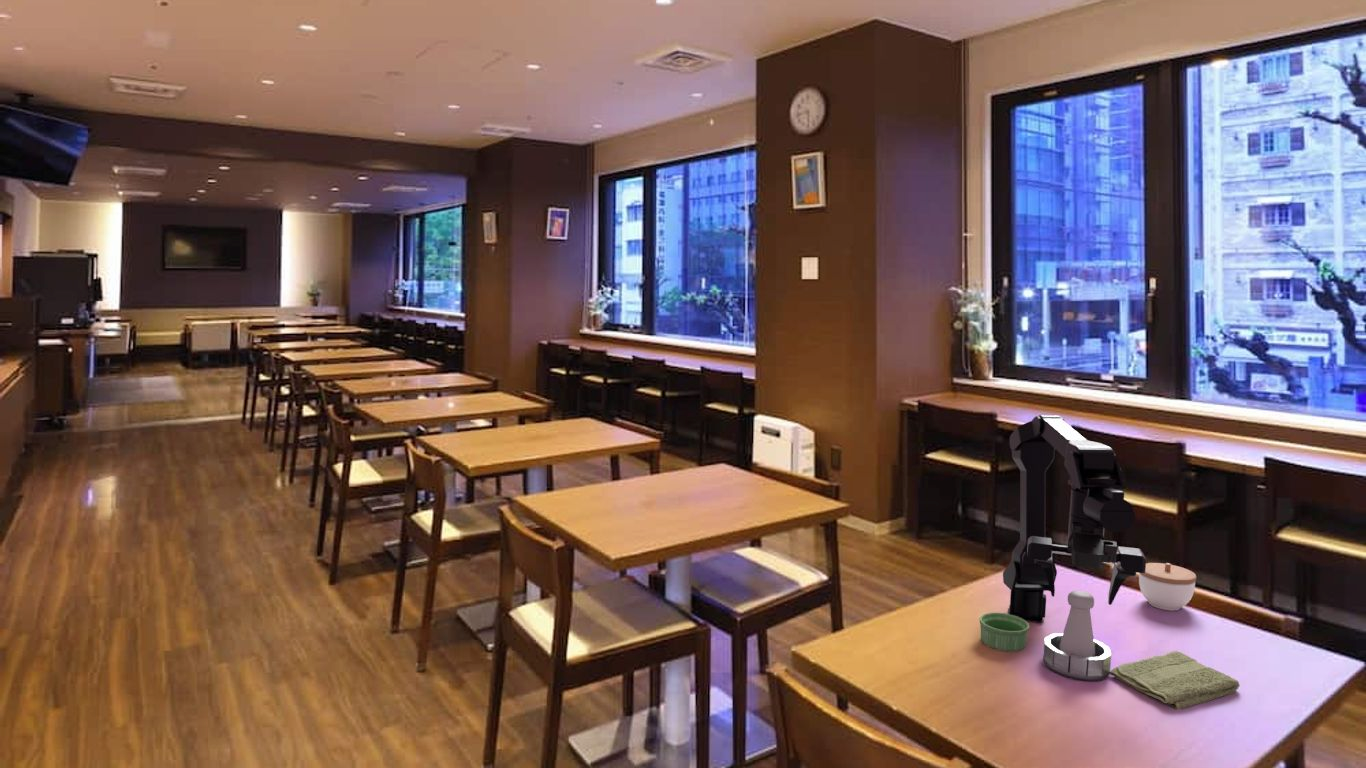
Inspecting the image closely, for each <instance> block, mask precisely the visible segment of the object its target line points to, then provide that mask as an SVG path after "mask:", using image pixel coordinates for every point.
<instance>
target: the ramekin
mask: <svg viewBox="0 0 1366 768" xmlns="http://www.w3.org/2000/svg"><path fill="white" fill-rule="evenodd" d="M979 624H980V640H981V642H982V643H983V644H984V645H986V646H987V647H989V648H991V647H992V648H991V649H994V648H995V649H994V650H997V649H998V650H997V651H1001V650H1002V651H1004V652H1018V651H1021V650H1023V649H1024V648H1025V646H1026V644H1027V643H1026V642H1027V638H1028V637H1027V636H1028V632H1029V629H1030V624H1029V622H1028V621H1026V620H1024V619H1022V618H1020V617H1017V616H1014V615H1010V614H1009V613H1005V612H987V613H984V614H981V615H980V616H979Z"/></svg>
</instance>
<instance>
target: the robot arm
mask: <svg viewBox="0 0 1366 768" xmlns="http://www.w3.org/2000/svg"><path fill="white" fill-rule="evenodd" d="M1009 447H1010V450H1011V458H1012V460H1013V461H1014V462H1015V464H1016V466H1017V468H1018V469H1019V471H1020V474H1019V475H1020V476H1019V478H1020V479H1019V481H1020V483H1019V485H1020V486H1019V487H1020V489H1019V490H1020V491H1019V492H1020V493H1019V494H1020V495H1019V499H1020V505H1019V506H1020V507H1019V508H1020V509H1019V511H1020V513H1019V515H1020V516H1019V517H1020V519H1019V520H1020V521H1019V524H1020V525H1019V526H1020V527H1019V535H1020V536H1019V541H1018V542H1017V544H1016V545H1015V547H1014V548H1013V550H1011V551H1012V552H1011V558H1010V559H1011V560H1010V562H1009V563H1008V565H1007V566H1006V567H1005V569H1004V570H1003V572H1002V580H1003V584H1004V585H1005V586H1006V587H1007V588H1008V589H1009V590H1010V597H1009V598H1010V600H1009V605H1008V614H1010V615H1014V616H1017V617H1020V618H1022V619H1024V620H1025V621H1026V622H1033V623H1039V624H1042V623H1043V620H1044V619H1043V618H1046V610H1047V609H1046V608H1047V595H1046V594H1045V592H1050V593H1051V597H1052V598H1053V597H1055V593H1056V589H1055V588H1056V587H1055V582H1056V579H1057V575H1058V572H1057V571H1058V570H1057V567H1056V556H1058V557H1059V556H1061V557H1066V558H1070V559H1071V561H1070V563H1071V565H1072V566H1073V567H1076V568H1087V569H1088V568H1089V569H1092V570H1095V571H1096V570H1098V571H1099V570H1102V568H1103V565H1104V563H1108V564H1110V563H1113V568H1112V574H1111V578H1110V584H1109V589H1108V595H1107V596H1108V597H1107V598H1108V599H1107V600H1108V601H1107V603H1108V605H1110V606H1111V605H1112V604H1113V602H1114V600H1115V598H1116V596H1117V594H1118V592H1119V590H1120V588H1121V587H1122V585H1123V583H1124V582H1125V581H1126V580H1127V579H1128V578H1129V577H1136V575H1137V573H1138V574H1139V573H1145V569H1146V563H1147V558H1146V557H1145V554H1144V552H1143V551H1142V550H1141V549H1140V548H1135V547H1126V546H1118V545H1117V541H1115V540H1106V539H1105V530H1107V531H1109V532H1110V533H1121V532H1124V531H1127V530H1128V529H1129V528H1131V527H1132V525H1133V523H1134V521H1135V519H1136V513H1135V510H1134V507H1133V505H1132V504H1131V502H1129V501H1127V500H1126V499H1125V492H1124V491H1122V490H1125V489H1126V486H1125V480H1126V479H1125V476H1124V473H1123V471H1122V468H1121V466H1120V463H1119V460H1118V456H1117V454H1116V452H1114V450H1113V448H1112V447H1110V446H1108V445H1106V444H1103V443H1102V442H1097V441H1092V440H1088V439H1087V438H1085V437H1084V436H1082V435H1081V433H1079V432H1078V431H1077V430H1075V429H1074V428H1073V427H1072V426H1070V425H1069V424H1068V423H1067V422H1066V421H1065V419H1064V417H1063V416H1060V415H1059V414H1056V415H1055V414H1052V415H1051V414H1047V415H1046V414H1039V415H1037V416H1034V417H1033V418H1032V420H1030V421H1028V422H1025V423H1022V424H1020V425H1018V426H1017V427H1015V429H1014V431H1013V432H1011V434H1010V436H1009ZM1055 450H1056V451H1057V452H1058V453H1059V454H1060V455H1061V456H1063V458H1064V463H1063V467H1065V469H1066V471H1067V473H1068V476H1069V477H1070V478H1069V479H1068V480H1067V484H1068V485H1069V486H1071V489H1070V502H1069V504H1070V505H1069V513H1068V514H1069V517H1068V528H1067V529H1068V530H1067V545H1064V544H1063V545H1062V544H1056V543H1055V544H1053V543H1052V541H1053V540H1052V537H1046V472H1047V470H1048V469H1049V467H1050V466H1051V464H1052V463H1053V462H1054V460H1055Z"/></svg>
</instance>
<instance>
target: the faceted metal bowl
mask: <svg viewBox="0 0 1366 768" xmlns="http://www.w3.org/2000/svg"><path fill="white" fill-rule="evenodd" d="M1062 636H1063V632H1062V633H1051V634H1049V635H1047V636H1045V637H1044V640H1043V641H1044V642H1043V655H1042V664H1043V666H1044V667H1045V668H1046V669H1048V671H1050V672H1052V673H1054V674H1056V675H1057V676H1060V677H1063V678H1067V679H1069V680H1074V681H1079V682H1088V683H1090V682H1091V683H1093V682H1096V683H1097V682H1101V681H1104V680H1107V679H1109V677H1110V676H1111V675H1110V674H1109V673H1110V671H1111V664H1112V652H1111V651H1112V650H1111V649H1110V647H1109V646H1108V645H1106V644H1105V643H1103V642H1102V641H1099V640H1097V639H1094V638H1093V639H1094V647H1095V656H1094V657H1080V656H1075V655H1070V654H1067V653H1065V652H1062V651H1060V642H1061V639H1062Z"/></svg>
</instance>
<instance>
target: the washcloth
mask: <svg viewBox="0 0 1366 768" xmlns="http://www.w3.org/2000/svg"><path fill="white" fill-rule="evenodd" d="M1109 674H1110V675H1109V676H1112V677H1113V678H1114V679H1117V680H1118V681H1121V682H1123V683H1124V684H1126V685H1128V686H1130V687H1133V688H1134V689H1135V690H1137V691H1139V692H1141V693H1142V694H1146V695H1148V696H1150V697H1152V698H1155V699H1157V700H1159V701H1161V702H1162V703H1163V704H1167V703H1168V704H1167V705H1169V706H1171V707H1172V708H1175V709H1176V710H1180V709H1182V710H1183V709H1184V708H1185V709H1186V708H1188V707H1191V706H1195V705H1198V704H1202V703H1207V702H1208V701H1212V700H1215V699H1219V698H1222V697H1225V696H1229V695H1230V694H1235V693H1236V691H1237V690H1239V689H1238V688H1240V686H1241V685H1240V683H1239V681H1238V680H1237V679H1235V678H1233V677H1231V676H1230V675H1228V674H1225V673H1224V672H1221V671H1219V670H1216V669H1214V668H1212V667H1210V666H1209V667H1207V666H1205V665H1204V664H1202V663H1200V662H1198V661H1197V660H1196V659H1194V658H1192V657H1191V656H1189V655H1187V654H1185V653H1183V652H1182V651H1178V650H1174V651H1171V652H1168V653H1166V654H1163V655H1155V656H1152V657H1149V658H1145V659H1141V660H1138V661H1131V662H1125V663H1121V664H1119V665H1118V666H1116V667H1114V668H1112V669H1110V673H1109Z"/></svg>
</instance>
